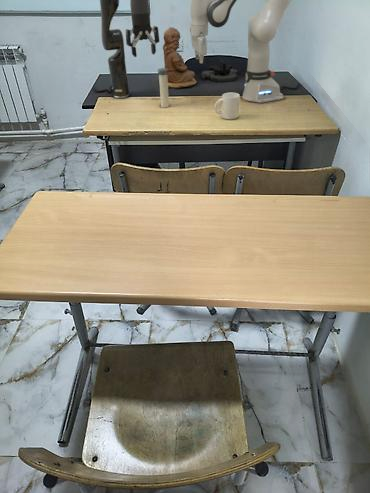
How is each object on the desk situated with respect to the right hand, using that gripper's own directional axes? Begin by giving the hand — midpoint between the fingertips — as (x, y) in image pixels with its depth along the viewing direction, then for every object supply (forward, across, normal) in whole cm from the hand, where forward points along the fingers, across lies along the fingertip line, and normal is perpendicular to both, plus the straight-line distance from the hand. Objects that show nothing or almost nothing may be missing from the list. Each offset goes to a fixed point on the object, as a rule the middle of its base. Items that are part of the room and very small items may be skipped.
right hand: (199, 60), depth 190 cm
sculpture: (+18, +31, +7) cm, 37 cm away
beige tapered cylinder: (+19, -10, +21) cm, 30 cm away
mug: (+18, -34, -6) cm, 39 cm away
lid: (+1, -10, +21) cm, 23 cm away
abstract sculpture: (+18, +34, -22) cm, 45 cm away
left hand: (-11, -30, +31) cm, 44 cm away
